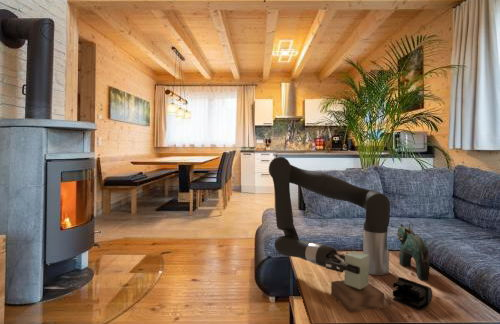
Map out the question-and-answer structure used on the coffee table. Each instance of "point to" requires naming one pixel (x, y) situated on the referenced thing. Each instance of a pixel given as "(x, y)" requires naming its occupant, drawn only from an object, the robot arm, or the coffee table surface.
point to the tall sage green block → (363, 263)
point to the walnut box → (357, 296)
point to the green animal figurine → (413, 251)
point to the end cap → (412, 294)
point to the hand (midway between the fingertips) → (363, 268)
